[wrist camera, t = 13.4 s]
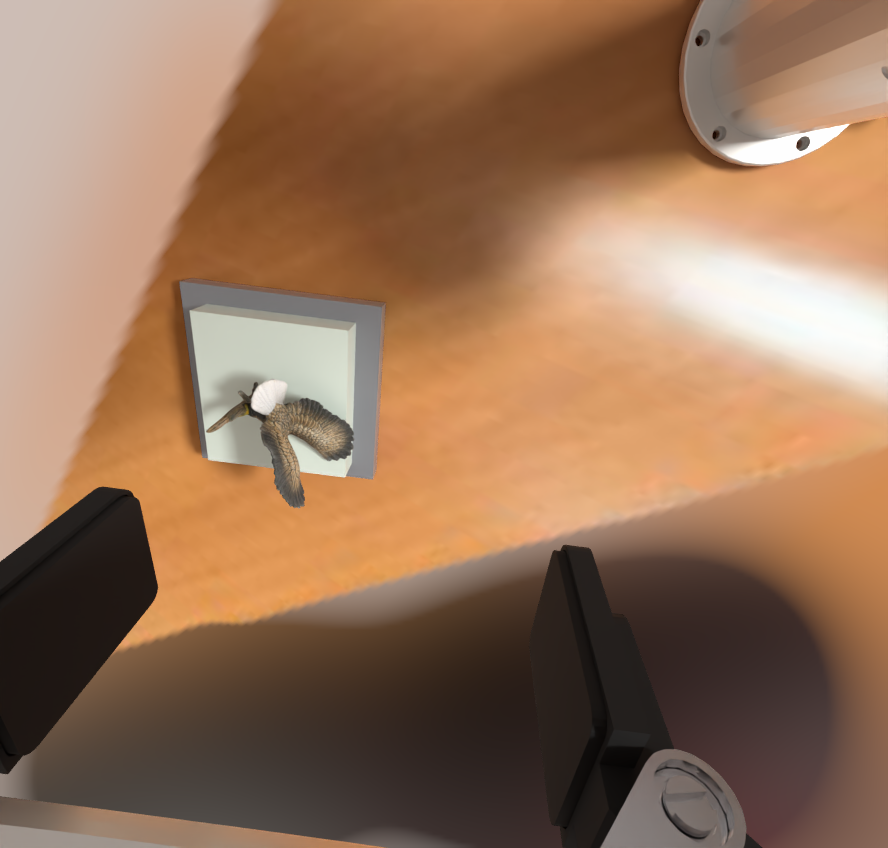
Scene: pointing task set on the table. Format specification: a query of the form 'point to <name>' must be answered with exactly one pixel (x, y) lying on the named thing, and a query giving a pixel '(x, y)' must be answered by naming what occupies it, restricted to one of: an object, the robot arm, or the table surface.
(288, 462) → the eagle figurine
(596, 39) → the table surface
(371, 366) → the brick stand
